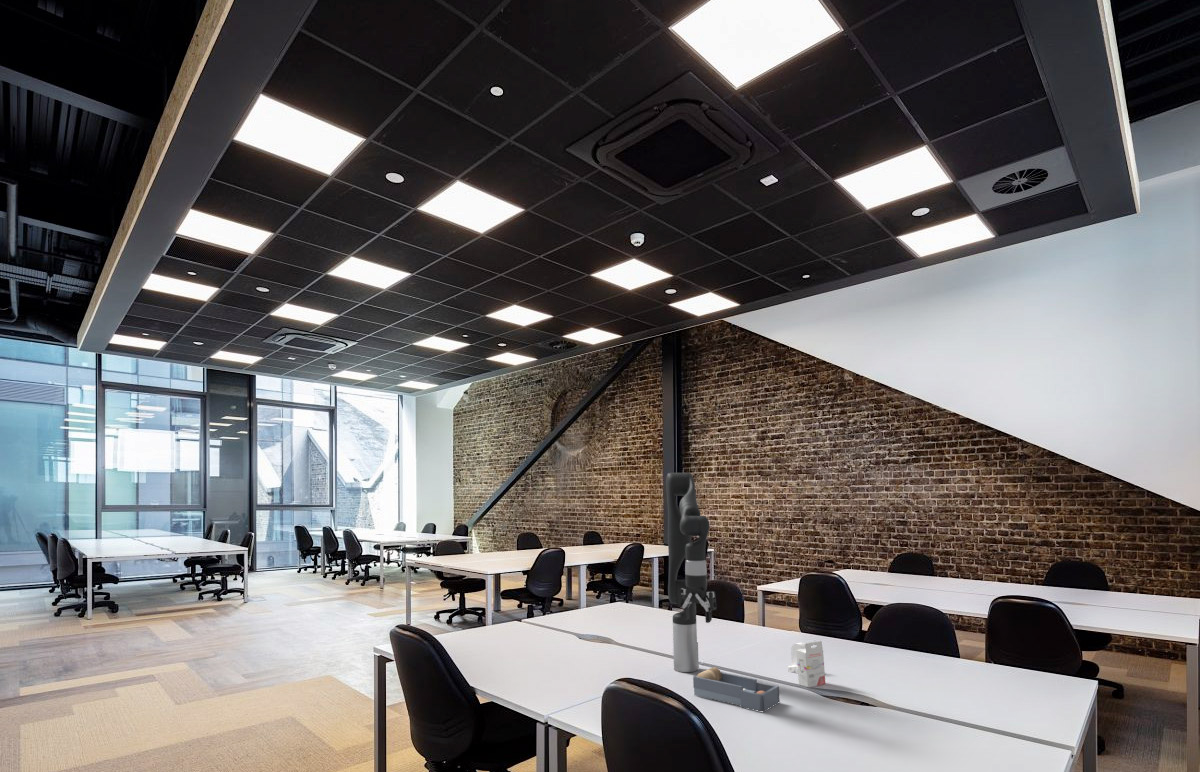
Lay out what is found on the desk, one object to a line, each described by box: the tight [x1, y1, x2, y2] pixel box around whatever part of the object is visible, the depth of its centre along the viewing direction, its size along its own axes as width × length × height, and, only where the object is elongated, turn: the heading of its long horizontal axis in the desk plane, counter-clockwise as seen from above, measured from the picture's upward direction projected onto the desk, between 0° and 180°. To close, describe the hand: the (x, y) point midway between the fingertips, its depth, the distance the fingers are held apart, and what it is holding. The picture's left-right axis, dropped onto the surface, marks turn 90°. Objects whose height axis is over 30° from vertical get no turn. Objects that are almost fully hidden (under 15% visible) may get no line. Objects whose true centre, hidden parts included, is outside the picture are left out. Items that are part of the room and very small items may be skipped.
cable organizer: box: [787, 642, 806, 675], centre depth 241 cm, size 5×10×10 cm, turn 131°
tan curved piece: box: [696, 666, 722, 681], centre depth 215 cm, size 9×5×5 cm, turn 140°
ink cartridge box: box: [796, 640, 826, 689], centre depth 225 cm, size 9×5×15 cm, turn 117°
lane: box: [692, 671, 781, 712], centre depth 209 cm, size 12×26×6 cm, turn 50°
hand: (697, 620), depth 221 cm, fingers open, 8 cm apart
